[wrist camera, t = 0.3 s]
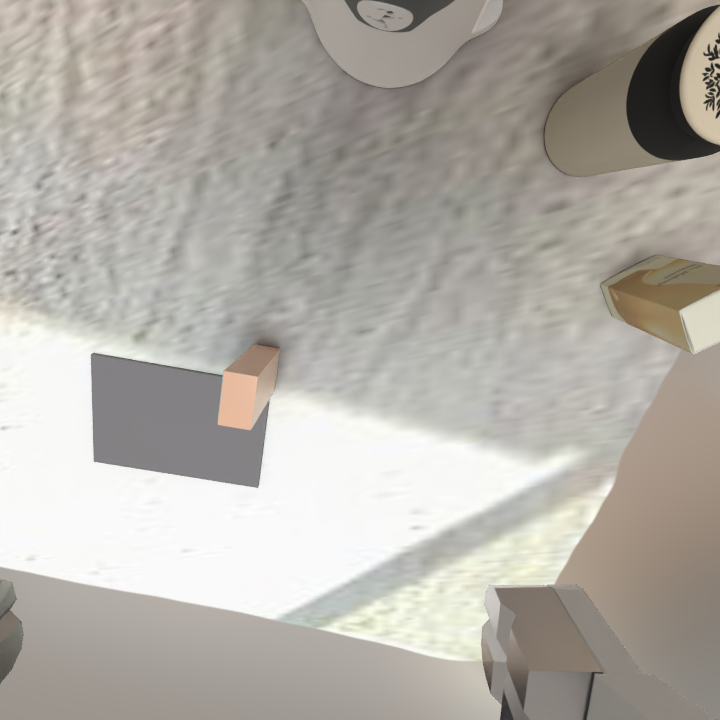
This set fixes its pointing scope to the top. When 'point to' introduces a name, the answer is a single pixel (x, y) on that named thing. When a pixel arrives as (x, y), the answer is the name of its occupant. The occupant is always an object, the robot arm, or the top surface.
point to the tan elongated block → (248, 387)
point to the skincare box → (669, 300)
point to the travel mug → (644, 104)
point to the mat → (169, 423)
